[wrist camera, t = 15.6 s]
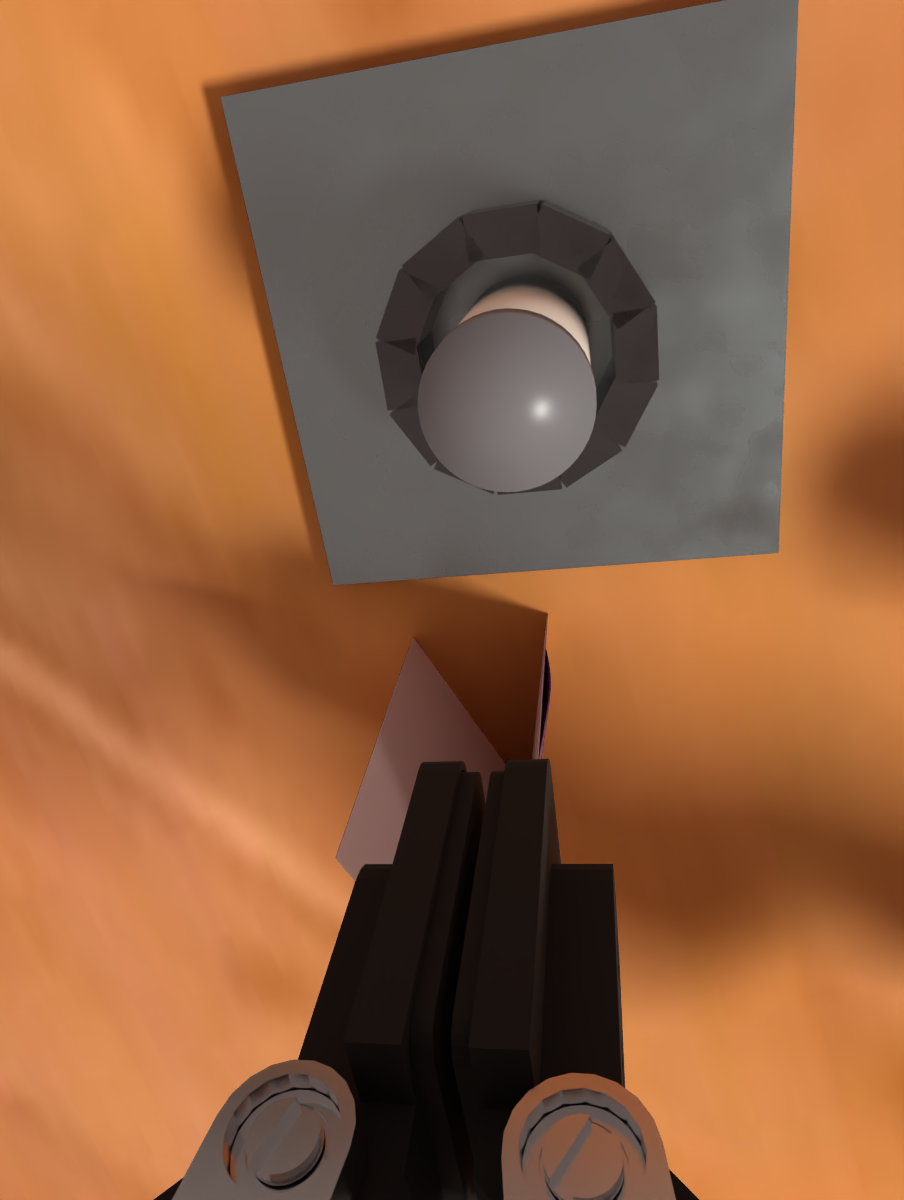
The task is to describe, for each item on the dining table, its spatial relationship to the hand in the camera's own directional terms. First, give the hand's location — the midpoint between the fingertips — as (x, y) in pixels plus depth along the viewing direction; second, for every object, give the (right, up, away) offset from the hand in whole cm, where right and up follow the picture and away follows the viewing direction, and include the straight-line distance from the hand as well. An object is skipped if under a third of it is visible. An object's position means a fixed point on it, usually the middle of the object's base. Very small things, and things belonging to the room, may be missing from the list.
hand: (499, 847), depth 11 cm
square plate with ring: (+2, +14, +23) cm, 27 cm away
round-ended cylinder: (+2, +13, +22) cm, 26 cm away
